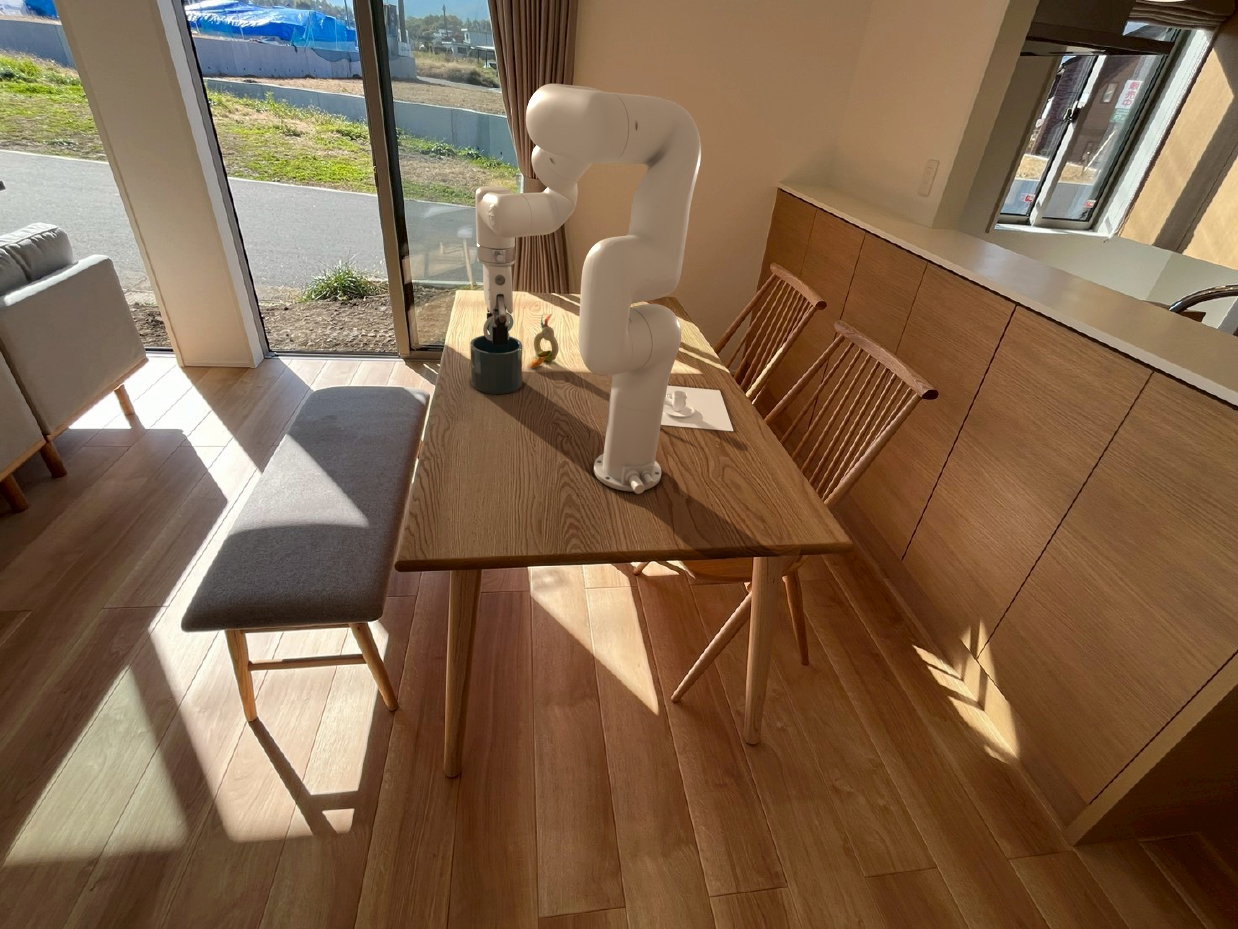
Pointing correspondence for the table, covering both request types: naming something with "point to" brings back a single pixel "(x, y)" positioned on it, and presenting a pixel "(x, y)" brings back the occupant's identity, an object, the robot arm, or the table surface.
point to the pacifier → (490, 320)
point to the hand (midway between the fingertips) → (497, 336)
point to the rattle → (542, 355)
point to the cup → (496, 365)
